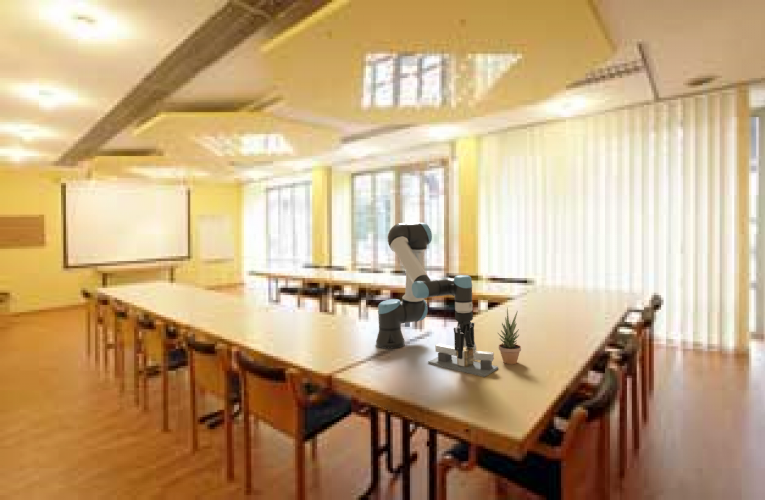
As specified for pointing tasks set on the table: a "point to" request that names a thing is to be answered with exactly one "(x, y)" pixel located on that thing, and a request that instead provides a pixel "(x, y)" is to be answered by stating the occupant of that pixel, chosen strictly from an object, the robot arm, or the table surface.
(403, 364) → the table surface
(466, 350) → the tan cardboard block
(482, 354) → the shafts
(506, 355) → the potted plant
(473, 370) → the shaft bench
